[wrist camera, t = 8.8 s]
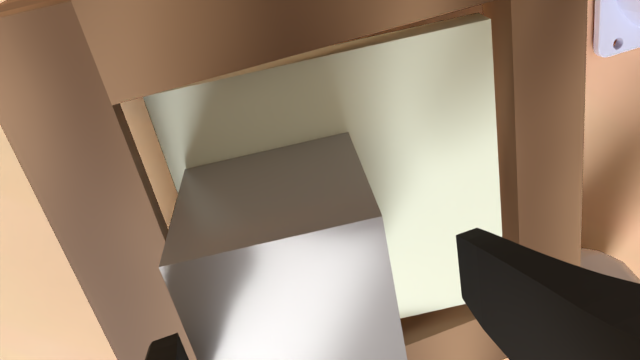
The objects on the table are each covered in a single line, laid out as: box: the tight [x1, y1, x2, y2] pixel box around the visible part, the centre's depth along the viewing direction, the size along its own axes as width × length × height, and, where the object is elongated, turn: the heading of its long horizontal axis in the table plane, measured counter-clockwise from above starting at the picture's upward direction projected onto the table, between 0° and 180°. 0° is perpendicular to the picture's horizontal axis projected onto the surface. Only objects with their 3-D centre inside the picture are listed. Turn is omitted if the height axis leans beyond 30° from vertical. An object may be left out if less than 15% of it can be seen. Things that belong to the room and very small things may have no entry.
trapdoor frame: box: [0, 0, 587, 360], centre depth 20 cm, size 16×16×7 cm
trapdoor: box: [143, 13, 502, 319], centre depth 18 cm, size 10×10×1 cm
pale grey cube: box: [159, 132, 407, 360], centre depth 15 cm, size 5×5×5 cm
